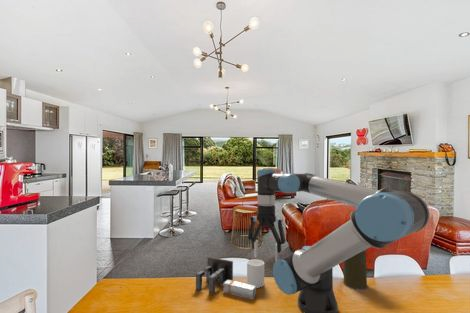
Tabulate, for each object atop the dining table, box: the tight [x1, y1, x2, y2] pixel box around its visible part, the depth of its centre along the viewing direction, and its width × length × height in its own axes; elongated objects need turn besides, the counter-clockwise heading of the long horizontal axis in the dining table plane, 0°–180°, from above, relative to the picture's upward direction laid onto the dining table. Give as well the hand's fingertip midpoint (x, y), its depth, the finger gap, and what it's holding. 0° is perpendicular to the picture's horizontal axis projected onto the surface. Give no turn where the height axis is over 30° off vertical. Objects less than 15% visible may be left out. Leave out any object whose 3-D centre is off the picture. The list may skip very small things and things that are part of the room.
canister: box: [342, 249, 368, 291], centre depth 117 cm, size 11×10×20 cm
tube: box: [222, 280, 257, 300], centre depth 106 cm, size 14×4×4 cm, turn 64°
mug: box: [246, 258, 265, 289], centre depth 117 cm, size 12×8×10 cm
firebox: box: [195, 256, 234, 295], centre depth 114 cm, size 14×14×10 cm
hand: (266, 258), depth 102 cm, fingers open, 9 cm apart
